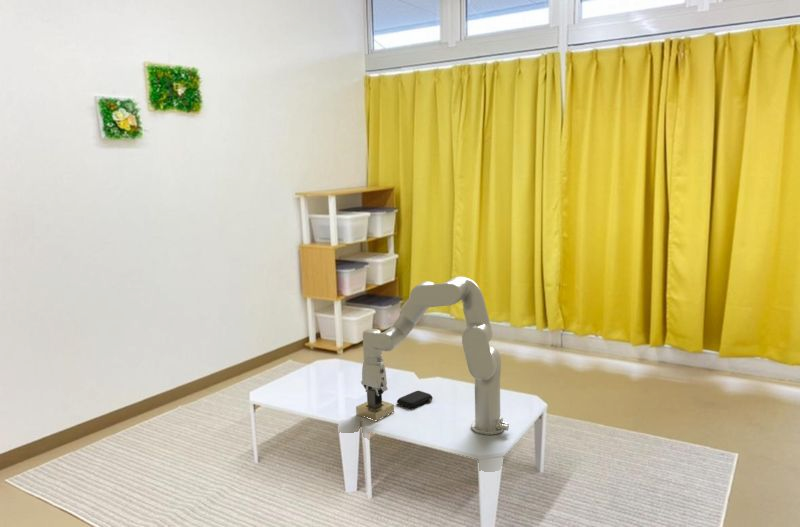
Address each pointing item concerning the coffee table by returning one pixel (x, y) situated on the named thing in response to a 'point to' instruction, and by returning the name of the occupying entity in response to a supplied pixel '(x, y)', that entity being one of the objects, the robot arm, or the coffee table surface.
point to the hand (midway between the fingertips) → (374, 401)
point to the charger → (372, 399)
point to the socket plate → (375, 410)
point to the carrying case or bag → (414, 399)
